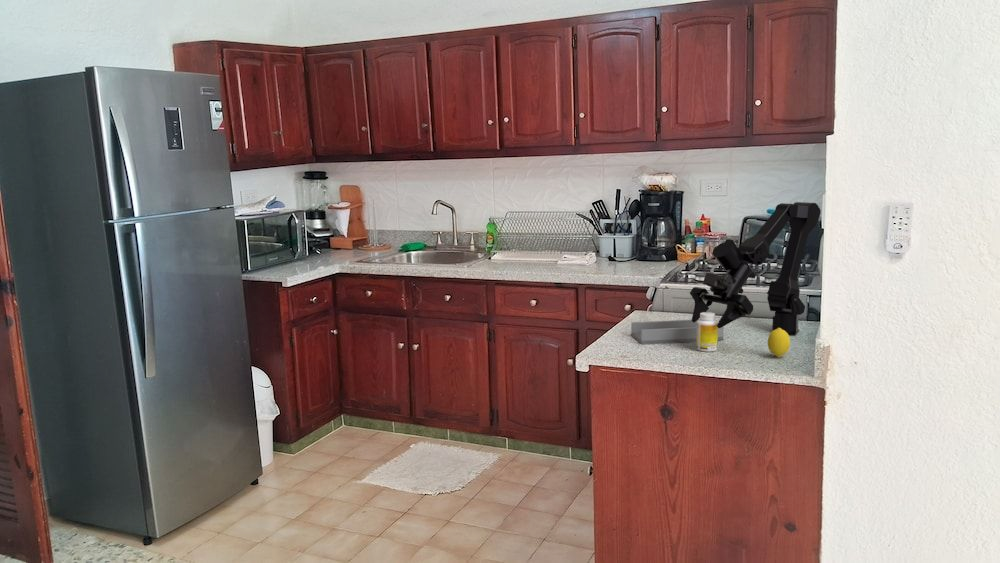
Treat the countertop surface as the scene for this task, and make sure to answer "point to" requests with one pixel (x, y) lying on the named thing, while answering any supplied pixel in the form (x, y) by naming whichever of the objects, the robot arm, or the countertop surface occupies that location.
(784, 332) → the lemon
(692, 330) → the cable duct
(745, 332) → the countertop surface
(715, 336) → the supplement bottle
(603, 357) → the countertop surface
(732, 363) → the countertop surface
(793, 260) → the robot arm
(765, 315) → the countertop surface
